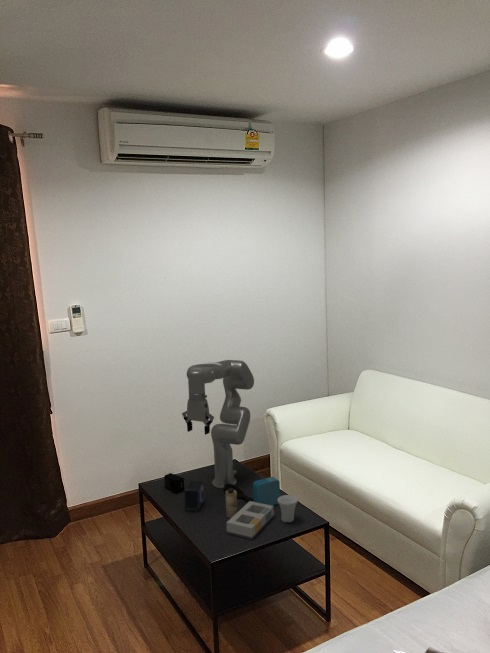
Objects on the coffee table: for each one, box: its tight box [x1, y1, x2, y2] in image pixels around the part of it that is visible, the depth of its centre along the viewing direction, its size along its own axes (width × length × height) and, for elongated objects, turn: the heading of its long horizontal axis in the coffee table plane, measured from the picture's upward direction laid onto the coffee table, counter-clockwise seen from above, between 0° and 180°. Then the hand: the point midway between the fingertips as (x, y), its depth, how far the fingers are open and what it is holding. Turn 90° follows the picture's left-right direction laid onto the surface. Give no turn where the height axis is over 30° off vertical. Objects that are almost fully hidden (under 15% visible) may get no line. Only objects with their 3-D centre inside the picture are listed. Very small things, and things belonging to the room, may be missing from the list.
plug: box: [224, 488, 238, 519], centre depth 242 cm, size 5×5×12 cm
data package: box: [252, 476, 281, 506], centre depth 251 cm, size 12×4×12 cm, turn 117°
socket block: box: [226, 501, 275, 540], centre depth 233 cm, size 22×12×5 cm, turn 152°
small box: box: [184, 480, 205, 513], centre depth 251 cm, size 11×6×10 cm, turn 168°
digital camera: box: [163, 472, 185, 495], centre depth 271 cm, size 10×5×7 cm, turn 48°
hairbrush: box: [222, 482, 254, 503], centre depth 260 cm, size 8×4×25 cm
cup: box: [277, 494, 299, 523], centre depth 236 cm, size 9×9×10 cm
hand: (198, 432), depth 249 cm, fingers open, 9 cm apart
